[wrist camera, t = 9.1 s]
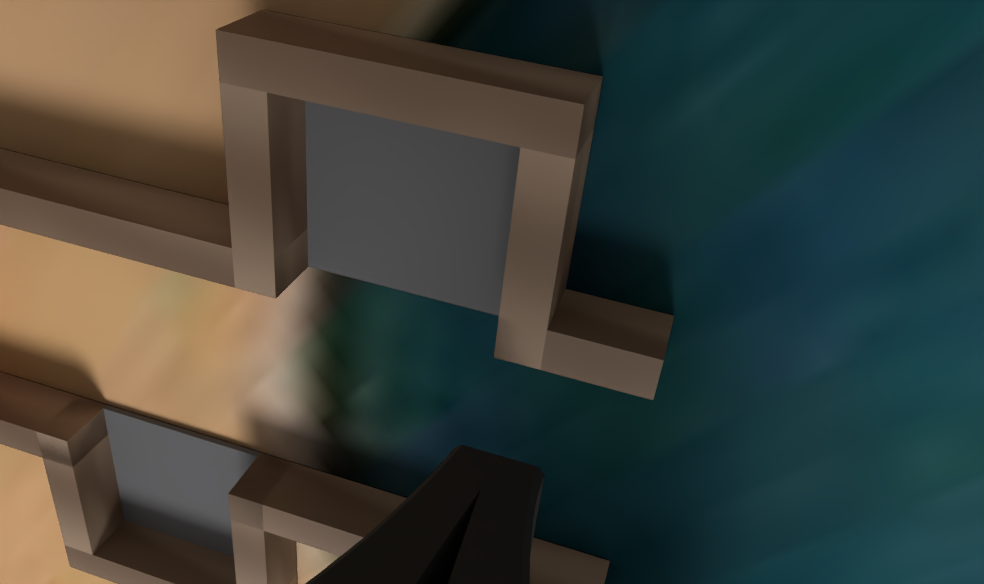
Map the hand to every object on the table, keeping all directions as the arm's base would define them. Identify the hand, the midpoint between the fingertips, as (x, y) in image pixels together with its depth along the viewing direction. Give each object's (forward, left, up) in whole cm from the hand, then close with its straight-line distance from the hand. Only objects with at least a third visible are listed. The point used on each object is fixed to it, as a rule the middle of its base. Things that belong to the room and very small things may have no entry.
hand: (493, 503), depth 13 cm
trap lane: (-7, +13, -9) cm, 18 cm away
